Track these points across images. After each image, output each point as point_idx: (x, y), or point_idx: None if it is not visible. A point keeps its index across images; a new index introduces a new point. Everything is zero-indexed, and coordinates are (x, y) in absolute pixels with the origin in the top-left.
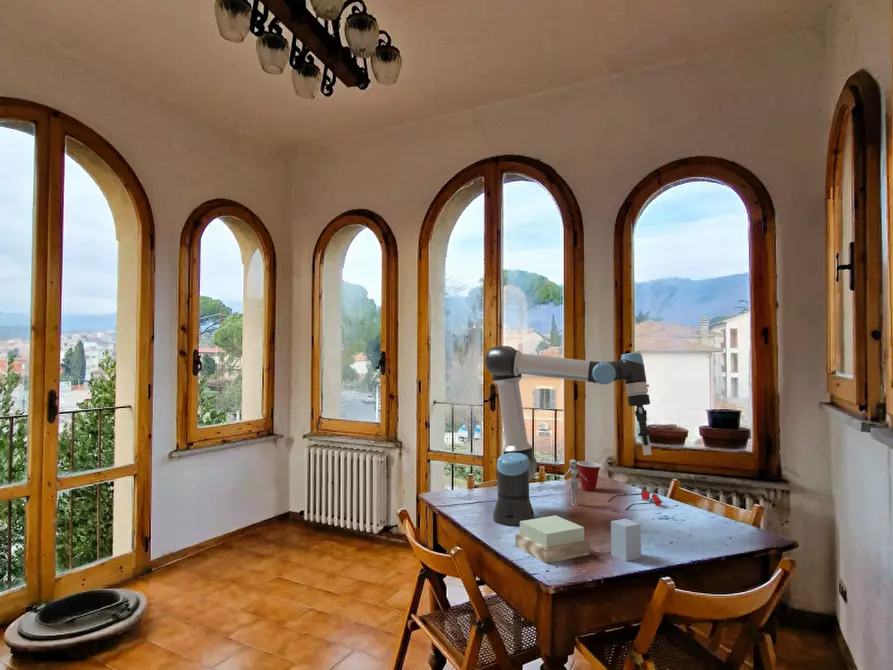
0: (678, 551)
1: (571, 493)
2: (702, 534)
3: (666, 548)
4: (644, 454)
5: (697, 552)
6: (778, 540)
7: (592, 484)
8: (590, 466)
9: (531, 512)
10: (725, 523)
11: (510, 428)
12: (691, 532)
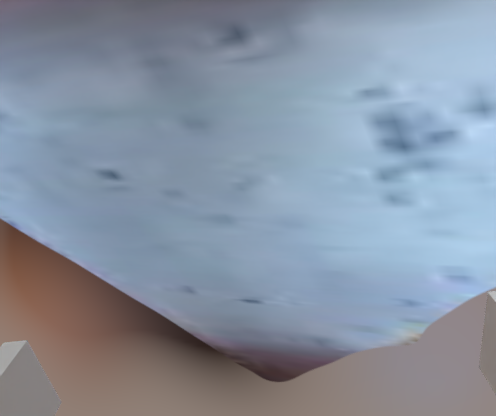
0: (48, 195)
1: None
2: (244, 248)
3: (47, 166)
4: (4, 356)
5: (77, 235)
6: (283, 371)
7: None
8: None
9: None
10: (394, 301)
11: None
12: (249, 223)
